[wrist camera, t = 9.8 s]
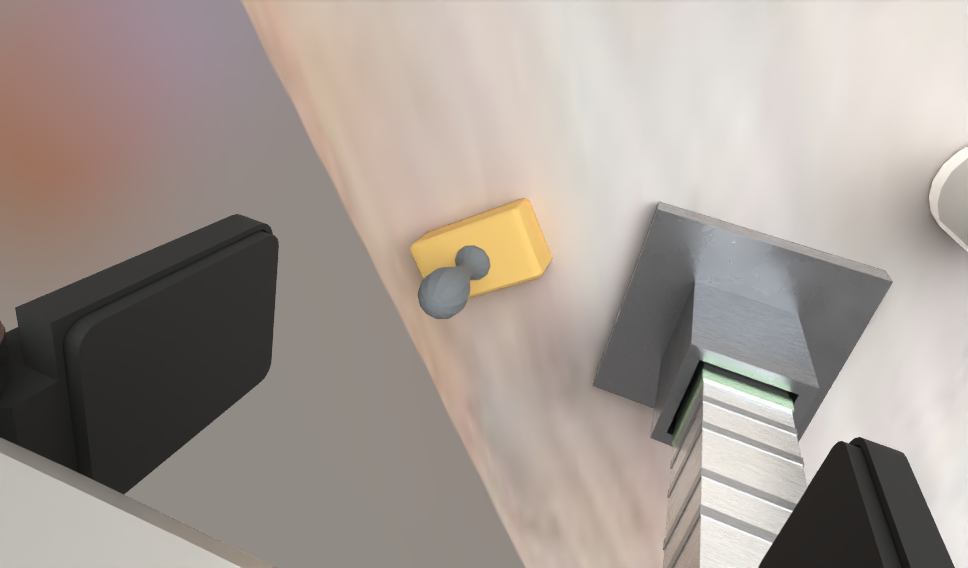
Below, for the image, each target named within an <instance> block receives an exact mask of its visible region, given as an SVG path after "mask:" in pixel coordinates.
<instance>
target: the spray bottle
mask: <svg viewBox="0 0 968 568" xmlns="http://www.w3.org/2000/svg"><path fill="white" fill-rule="evenodd" d="M929 202H930V209H931V213H932V215H933V217H934V218H935V220H936V221H937V223H938V225H939V226H940V227H941V228H942V229H943V230H944V231H945V232H946V233H947V234H949V235H950V236H951V237H952V238H953V239H954V240H955V241H956V242H957V243H958V244H959V245H960V246H961V247H962V248H963V249H965V250H966V251H967V252H968V147H966V148H964V149H962V150H960V151H958V152H957V153H956V154H955V155H953V156H952V157H951V158H950V159H949V160H948V161H947V162H945V163H944V164H943V165H942V167H941V168H940V170H939V171H938V173H937V175H936V176H935V178H934V179H933V181H932V185H931V190H930V194H929Z"/></svg>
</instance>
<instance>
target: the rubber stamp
mask: <svg viewBox="0 0 968 568" xmlns="http://www.w3.org/2000/svg"><path fill="white" fill-rule="evenodd" d="M410 251H411V253H412V255H413V257H414V259H415V262H416V264H417V266H418V268H419V270H420V272H421V275H422V277H423V281H422V283H421V285H420V288H419V291H418V299H419V303H420V306H421V308H422V309H423V310H424V311H425V313H426V314H428V315H430V316H432V317H434V318H436V319H448V318H451V317H452V316H454V315H455V314H457V313H458V312H460V311H461V310H462V309H463V308H464V306H465V304H466V302H467V299H468V298H472V297H475V296H479V295H482V294H486V293H489V292H492V291H496V290H499V289H503V288H506V287H510V286H513V285H517V284H520V283H523V282H527V281H530V280H534V279H537V278H540V277H541V276H542V275H543V273H544V271H545V270H546V268H547V267H548V265H549V264H550V262H551V260H552V255H551V253H550V250H549V248H548V245H547V243H546V240H545V238H544V235H543V233H542V230H541V228H540V225H539V223H538V220H537V218H536V215H535V213H534V210H533V208H532V205H531V203H530V200H528V199H524V198H523V199H520V200H517V201H514V202H511V203H509V204H506V205H503V206H500V207H497V208H495V209H492V210H489V211H486V212H483V213H480V214H478V215H475V216H472V217H469V218H466V219H464V220H461V221H458V222H455V223H452V224H450V225H447V226H444V227H441V228H438V229H435V230H433V231H430V232H427V233H426V234H424V235H423V236H422V237H421V238H419V239H418V240H417V241H415V242H414V243H413V244H412V246H411V248H410Z"/></svg>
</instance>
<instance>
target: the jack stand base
mask: <svg viewBox="0 0 968 568" xmlns="http://www.w3.org/2000/svg"><path fill="white" fill-rule="evenodd" d="M892 282H893V281H892V280H891V278H890V277H889V275H888V274H887V272H886V271H884V270H881V269H878V268H874V267H871V266H868V265H865V264H861V263H858V262H855V261H851V260H848V259H845V258H842V257H838V256H835V255H832V254H829V253H825V252H822V251H819V250H816V249H812V248H809V247H806V246H802V245H799V244H796V243H793V242H789V241H786V240H783V239H780V238H776V237H773V236H770V235H767V234H763V233H760V232H757V231H754V230H750V229H747V228H744V227H740V226H737V225H734V224H731V223H727V222H724V221H721V220H718V219H714V218H711V217H708V216H705V215H701V214H698V213H695V212H691V211H688V210H685V209H682V208H678V207H675V206H672V205H669V204H665V203H662V202H659V204H658V207H657V210H656V212H655V215H654V218H653V221H652V223H651V226H650V229H649V232H648V234H647V237H646V240H645V243H644V245H643V248H642V251H641V254H640V256H639V259H638V262H637V265H636V267H635V270H634V273H633V275H632V278H631V281H630V284H629V286H628V289H627V292H626V295H625V297H624V300H623V303H622V306H621V308H620V311H619V314H618V317H617V319H616V322H615V325H614V327H613V330H612V333H611V336H610V338H609V341H608V344H607V347H606V349H605V352H604V355H603V358H602V360H601V363H600V366H599V369H598V371H597V374H596V377H595V381H594V384H593V386H596V387H598V388H601V389H604V390H606V391H609V392H612V393H614V394H617V395H620V396H622V397H625V398H628V399H630V400H633V401H636V402H638V403H641V404H644V405H646V406H649V407H652V408H654V414H653V421H652V428H651V435H650V438H652V439H655V440H657V441H660V442H663V443H665V444H668V445H670V446H673V445H671V444H672V433H673V431H674V429H675V422H676V411H677V409H678V406H679V404H680V402H681V400H682V398H683V395H684V393H685V391H686V389H687V387H688V384H689V382H690V380H691V378H692V376H693V373H694V371H695V369H696V367H697V365H698V362H699V360H702V361H705V362H707V363H710V364H713V365H716V366H719V367H722V368H724V369H727V370H730V371H733V372H736V373H739V374H741V375H744V376H747V377H750V378H753V379H756V380H758V381H761V382H764V383H767V384H770V385H773V386H775V387H778V388H781V389H784V390H787V391H788V395H789V398H790V399H792V402H793V406H794V412H793V414H792V415H793V420H794V425H795V428H796V429H797V433H798V436H797V440H798V442H799V440H800V439H801V437H802V435H803V433H804V432H805V430H806V428H807V427H808V425H809V423H810V422H811V420H812V418H813V416H814V415H815V413H816V411H817V410H818V408H819V406H820V405H821V403H822V401H823V399H824V398H825V396H826V394H827V393H828V391H829V389H830V388H831V386H832V384H833V383H834V381H835V379H836V377H837V376H838V374H839V372H840V371H841V369H842V367H843V366H844V364H845V362H846V360H847V359H848V357H849V355H850V354H851V352H852V350H853V349H854V347H855V345H856V343H857V342H858V340H859V338H860V337H861V335H862V333H863V332H864V330H865V328H866V326H867V325H868V323H869V321H870V320H871V318H872V316H873V315H874V313H875V311H876V310H877V308H878V306H879V304H880V303H881V301H882V299H883V298H884V296H885V294H886V293H887V291H888V289H889V287H890V286H891V284H892Z"/></svg>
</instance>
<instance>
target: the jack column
mask: <svg viewBox="0 0 968 568" xmlns="http://www.w3.org/2000/svg"><path fill="white" fill-rule="evenodd" d="M793 412H794V406H793V402H792V399H790V398H789V395H788V391H787V390H784V389H781V388H778V387H775V386H773V385H770V384H767V383H764V382H761V381H758V380H756V379H753V378H750V377H747V376H744V375H741V374H739V373H736V372H733V371H730V370H727V369H724V368H722V367H719V366H716V365H713V364H710V363H707V362H705V361H702V360H699V362H698V365H697V367H696V369H695V371H694V373H693V376H692V378H691V380H690V382H689V384H688V387H687V389H686V391H685V393H684V395H683V398H682V400H681V402H680V404H679V406H678V409H677V411H676V422H675V429H674V431H673V433H672V444H671V445H673V457H672V461H671V467H670V469H671V480H670V488H669V490H668V498H669V503H668V514H667V526H666V538H665V540H664V546H663V550H664V561H663V568H758V567H759V565H760V563H761V561H762V559H763V558H764V556H765V555H766V553H767V551H768V550H769V548H770V547H771V545H772V543H773V542H774V540H775V539H776V537H777V535H778V534H779V532H780V531H781V529H782V527H783V526H784V524H785V523H786V521H787V519H788V518H789V516H790V515H791V513H792V511H793V510H794V508H795V507H796V505H797V503H798V502H799V500H800V499H801V497H802V495H803V494H804V492H805V491H806V489H807V484H806V479H805V474H804V469H803V467H804V462H803V458H802V457H801V455H800V450H799V445H798V440H797V436H798V433H797V429H796V428H795V425H794V420H793V415H792V414H793Z"/></svg>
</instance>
